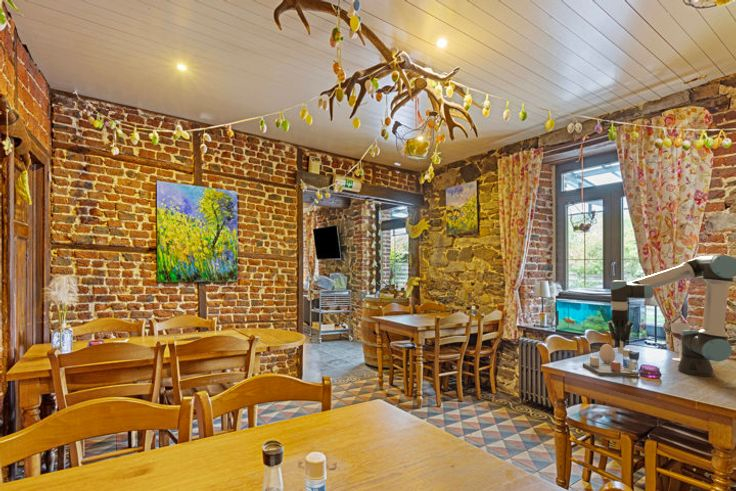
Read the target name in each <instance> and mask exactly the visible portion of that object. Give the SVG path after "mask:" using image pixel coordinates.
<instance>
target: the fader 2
mask: <svg viewBox="0 0 736 491" xmlns="http://www.w3.org/2000/svg"><path fill="white" fill-rule="evenodd" d="M610 364H611V369H612V370H614V371H621V365H622V364H621V362H619V361H617V360H614V361H611V363H610Z"/></svg>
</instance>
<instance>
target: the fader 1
mask: <svg viewBox="0 0 736 491" xmlns="http://www.w3.org/2000/svg"><path fill="white" fill-rule="evenodd" d="M589 363H590V364H591V365H593V366H599V363H600V357H597V356H589Z"/></svg>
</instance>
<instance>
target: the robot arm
mask: <svg viewBox="0 0 736 491" xmlns="http://www.w3.org/2000/svg"><path fill="white" fill-rule="evenodd" d="M700 277H702V280H703V281H704V282H705V284H706V285H705V294H704V302H703V304H704V305H703V306H704V307H703V314H702V315H703V316H702V318H703V319H702V327H701V328H700V329H699V330H697V329H696V330H694V329H693V330H692V329H689V330H683V331H682V335H681V338H682V339H681V360H680V361H679V363H678V365H677V370H678V371H679V372H681V373H682V374H686V375H687V374H688V375H692V376H697V377H714V376H715V374H714V373H715V372H714V371H715V370H714V369H713V366H712V364H711V361H713V362H723V361H725V360H727V359H728V358H730V357H731V356H732V353H733V349H732V348H733V347H732V344H730V343H729V341H728V337H729V335H728V334H726V332H725V326H726V314H727V306H728V304H727V303H728V296H729V295H728V294H729V286H730V285H731V284H733V283H734V277H736V258H734V257H732V256H729V255H727V254H705V255H700V256H697V257H695V258H691V259H689V260H686V261H684V262H682V263H681V264H680V265H678V266H675V267H672V268H669V269H665V270H663V271H659V272H657V273H653V274H651V275H647V276H644V277H641V278H637V279H635V280H631V281H629V282H627V281H626V280H612V281H611V282H610V305H611V306H610V307H611V310H610V314H611V318H610V321H607V322H606V324H607V326H608V328H609V333H610V336H611V340H614V341H615V346H616V348H617V353H618V354H620V355H624V348H625V347H626V346H625V345H626V341H629V340H630V339H629V338H630V334H631V329H632V326H633V325H634V322H631V321H630V320H629V318H628V317H629V315H628V314H629V312H628V311H629V310H628V308H629V306H628V299H643V300H645V299H646V300H647V299H652V298H653V296H654V292H655V290H654V289H658V288H661V287H664V286H667V285H670V284H672V283H677V282H679V281H682V280H685V279H695V278H700Z"/></svg>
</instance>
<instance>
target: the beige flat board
mask: <svg viewBox="0 0 736 491" xmlns="http://www.w3.org/2000/svg"><path fill="white" fill-rule="evenodd" d="M582 367H583V368H584V369H586V370H588V371H590V372H592V373H594V374H595V375H597V376H599V377H621V378H622V377H623V378H624V377H625V378H626V377H627V378H630V377H629V376H631V375H634V374H637V373H638V372H637V373H634V374H633V373H630V372H627V371H625V370H624V367H625V366H624V367H623V365H622V364H621V371H614V370H612V369H611V363H610V364H606V363H604V362H603V363H601V362H599V366H593V365H591V364H590V362H582Z"/></svg>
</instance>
